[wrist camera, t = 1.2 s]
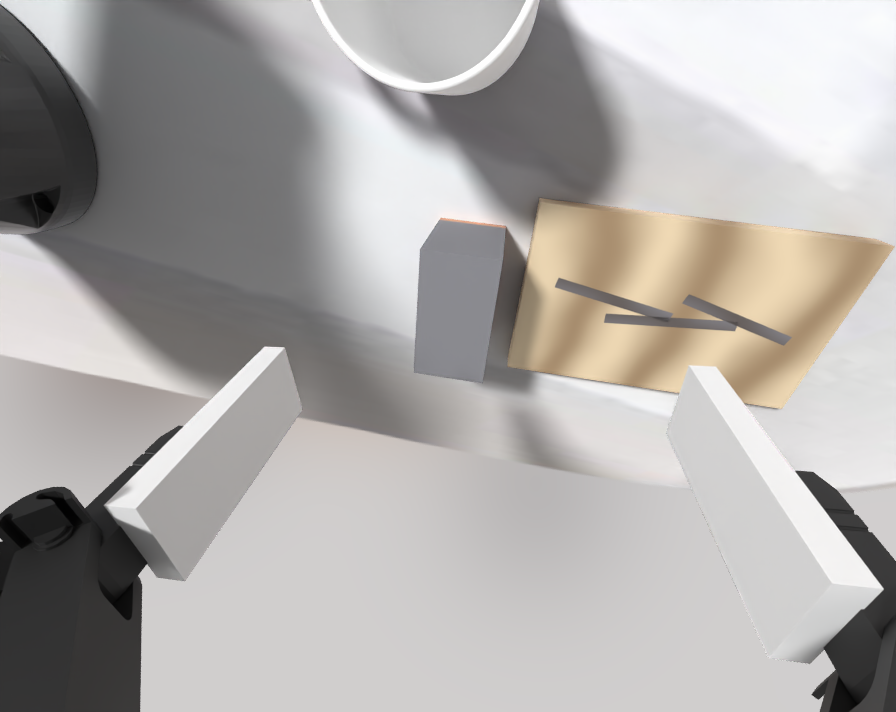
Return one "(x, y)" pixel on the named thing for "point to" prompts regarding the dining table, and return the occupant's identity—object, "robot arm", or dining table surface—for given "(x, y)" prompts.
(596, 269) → the board
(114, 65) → the dining table surface
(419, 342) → the block
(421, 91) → the cup
